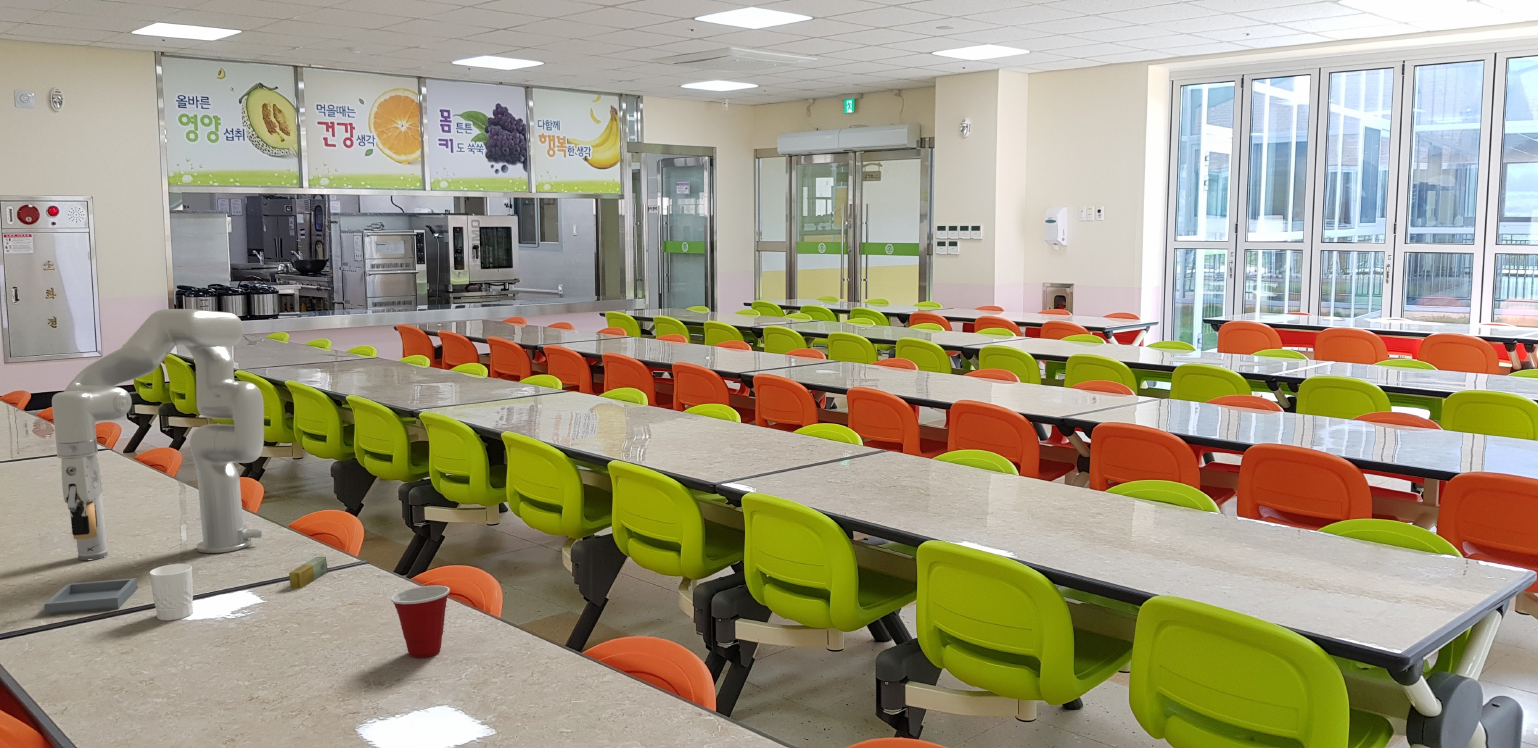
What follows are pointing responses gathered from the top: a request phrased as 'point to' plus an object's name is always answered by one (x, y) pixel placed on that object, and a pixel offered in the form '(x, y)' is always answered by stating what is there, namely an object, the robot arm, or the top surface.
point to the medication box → (308, 572)
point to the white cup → (172, 591)
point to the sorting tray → (91, 596)
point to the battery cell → (92, 522)
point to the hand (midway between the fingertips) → (85, 530)
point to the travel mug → (97, 544)
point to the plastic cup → (422, 618)
